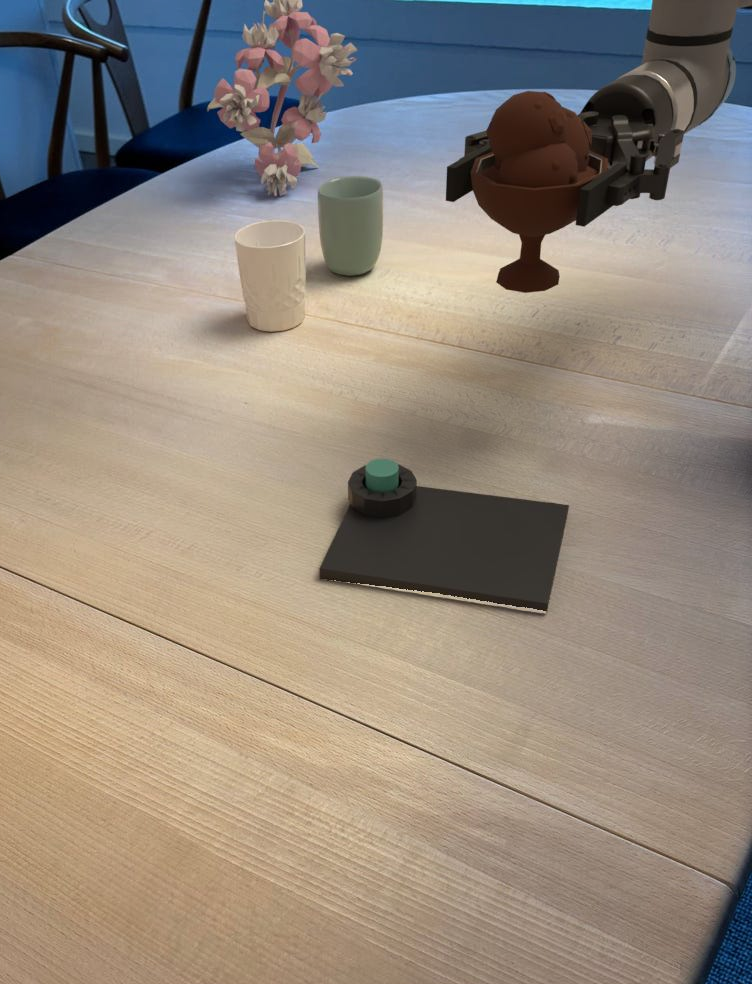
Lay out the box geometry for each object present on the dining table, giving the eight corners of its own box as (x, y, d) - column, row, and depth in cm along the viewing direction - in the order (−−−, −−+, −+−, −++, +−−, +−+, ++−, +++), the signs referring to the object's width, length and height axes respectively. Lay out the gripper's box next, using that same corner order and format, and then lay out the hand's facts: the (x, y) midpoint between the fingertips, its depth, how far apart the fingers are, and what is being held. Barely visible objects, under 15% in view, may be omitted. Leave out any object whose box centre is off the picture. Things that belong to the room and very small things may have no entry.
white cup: (251, 304, 118) (243, 220, 112) (315, 305, 117) (310, 219, 110) (236, 334, 113) (226, 247, 106) (303, 335, 111) (298, 247, 104)
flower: (163, 174, 151) (182, 15, 129) (256, 117, 161) (288, -40, 139) (259, 251, 148) (296, 101, 126) (348, 188, 158) (396, 39, 136)
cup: (312, 279, 122) (308, 196, 115) (332, 255, 127) (329, 174, 120) (372, 284, 120) (371, 200, 113) (390, 259, 125) (390, 177, 118)
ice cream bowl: (566, 315, 80) (592, 115, 70) (443, 292, 85) (450, 103, 75) (611, 266, 86) (641, 76, 76) (493, 247, 91) (507, 66, 81)
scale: (568, 514, 83) (572, 484, 81) (546, 615, 74) (550, 585, 72) (359, 487, 88) (358, 459, 86) (315, 579, 80) (313, 550, 77)
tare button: (401, 477, 84) (402, 460, 83) (394, 495, 83) (394, 478, 81) (370, 473, 85) (370, 456, 84) (362, 491, 83) (361, 474, 82)
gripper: (753, 181, 86) (646, 271, 75) (515, 145, 98) (391, 218, 87) (776, 86, 81) (665, 167, 70) (522, 61, 93) (391, 126, 82)
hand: (513, 196), depth 78 cm, fingers closed on ice cream bowl, 11 cm apart
